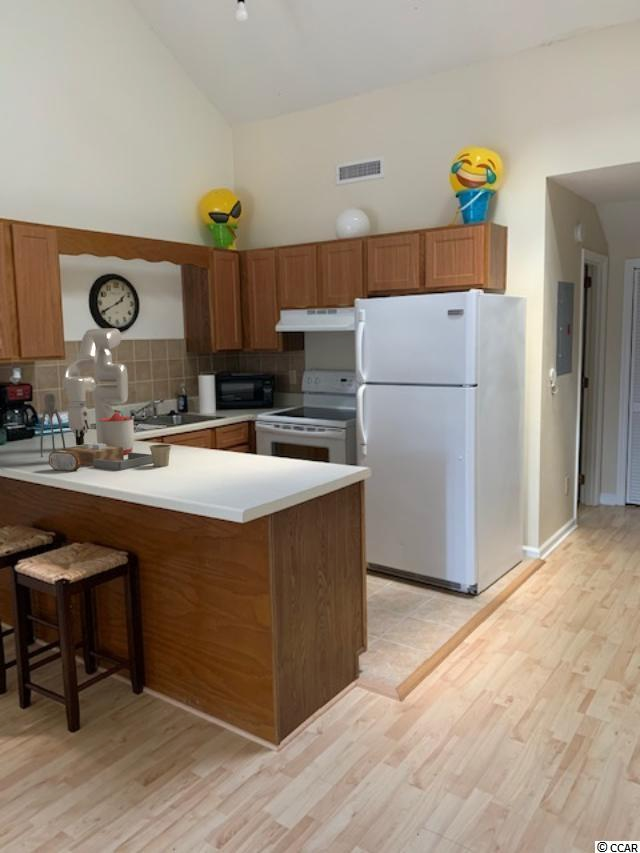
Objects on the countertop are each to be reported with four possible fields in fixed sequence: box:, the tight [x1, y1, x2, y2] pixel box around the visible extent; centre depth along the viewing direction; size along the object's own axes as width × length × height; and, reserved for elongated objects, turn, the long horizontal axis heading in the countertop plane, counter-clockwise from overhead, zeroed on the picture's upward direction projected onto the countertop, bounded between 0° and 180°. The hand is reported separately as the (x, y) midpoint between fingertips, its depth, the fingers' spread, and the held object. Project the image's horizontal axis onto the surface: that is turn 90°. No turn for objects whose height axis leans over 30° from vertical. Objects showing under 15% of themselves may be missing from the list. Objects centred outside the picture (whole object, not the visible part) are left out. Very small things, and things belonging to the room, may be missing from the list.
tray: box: [92, 452, 153, 471], centre depth 290 cm, size 20×17×4 cm
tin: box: [48, 449, 82, 472], centre depth 281 cm, size 15×3×8 cm, turn 71°
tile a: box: [83, 442, 97, 449], centre depth 302 cm, size 4×4×2 cm
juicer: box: [39, 393, 66, 458], centre depth 313 cm, size 10×11×30 cm
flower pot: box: [148, 443, 172, 468], centre depth 286 cm, size 9×9×9 cm
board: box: [61, 445, 125, 467], centre depth 302 cm, size 16×22×6 cm
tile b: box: [93, 443, 106, 450], centre depth 298 cm, size 4×4×2 cm
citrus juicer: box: [100, 411, 138, 455], centre depth 320 cm, size 16×17×20 cm
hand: (80, 444), depth 306 cm, fingers closed
